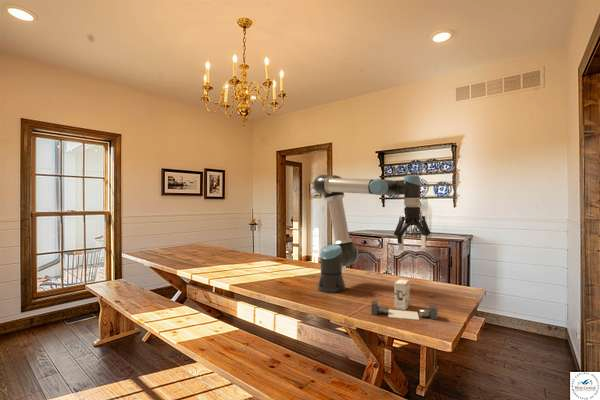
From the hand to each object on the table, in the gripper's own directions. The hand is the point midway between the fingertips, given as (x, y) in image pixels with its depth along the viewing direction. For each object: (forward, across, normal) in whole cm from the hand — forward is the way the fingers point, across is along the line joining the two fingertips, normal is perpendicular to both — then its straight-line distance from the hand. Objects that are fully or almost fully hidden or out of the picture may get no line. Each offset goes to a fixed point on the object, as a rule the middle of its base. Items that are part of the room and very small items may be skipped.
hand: (412, 249), depth 157 cm
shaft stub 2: (+24, -12, -23) cm, 36 cm away
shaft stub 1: (+24, -27, -12) cm, 38 cm away
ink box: (+24, -14, -9) cm, 29 cm away
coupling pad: (+24, -20, -18) cm, 36 cm away
